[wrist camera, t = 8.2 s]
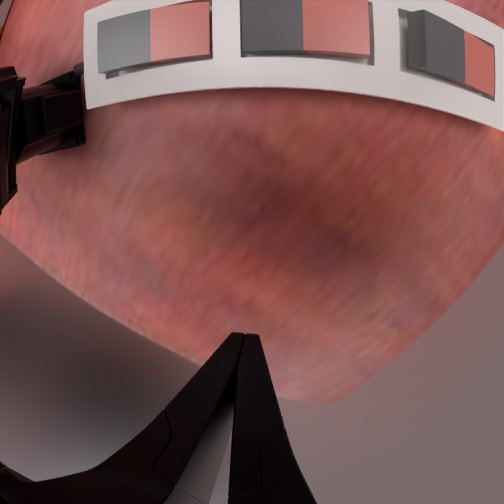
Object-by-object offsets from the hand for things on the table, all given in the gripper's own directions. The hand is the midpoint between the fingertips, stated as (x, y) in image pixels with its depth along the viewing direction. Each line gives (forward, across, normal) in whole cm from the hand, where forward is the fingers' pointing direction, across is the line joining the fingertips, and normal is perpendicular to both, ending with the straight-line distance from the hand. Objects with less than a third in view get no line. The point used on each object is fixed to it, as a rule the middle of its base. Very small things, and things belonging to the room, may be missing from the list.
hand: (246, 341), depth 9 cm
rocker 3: (+9, -10, -10) cm, 17 cm away
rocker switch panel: (+13, -1, -11) cm, 17 cm away
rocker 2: (+9, -2, -11) cm, 14 cm away
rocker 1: (+9, +6, -11) cm, 15 cm away
